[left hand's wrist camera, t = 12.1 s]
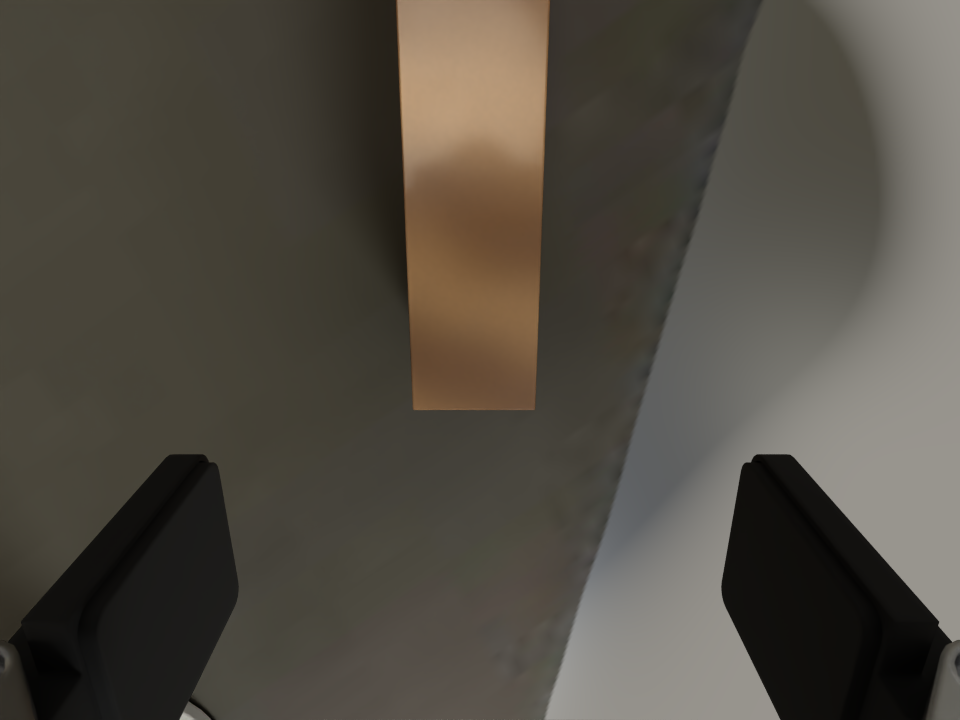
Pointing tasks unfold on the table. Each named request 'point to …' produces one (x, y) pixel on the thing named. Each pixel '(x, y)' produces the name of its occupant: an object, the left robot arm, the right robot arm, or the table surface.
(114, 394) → the table surface
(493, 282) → the bar
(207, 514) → the left robot arm
